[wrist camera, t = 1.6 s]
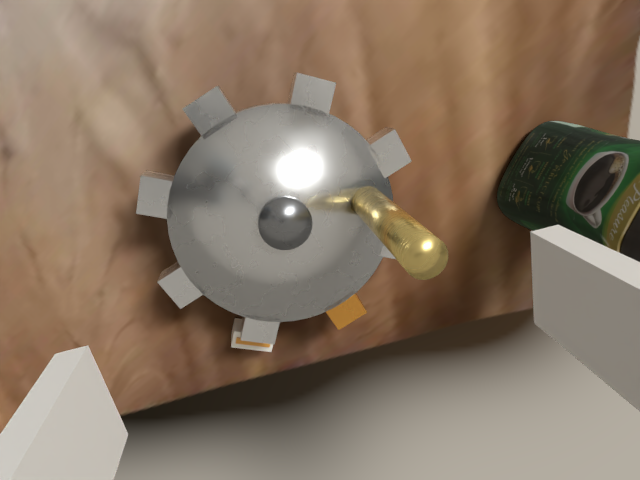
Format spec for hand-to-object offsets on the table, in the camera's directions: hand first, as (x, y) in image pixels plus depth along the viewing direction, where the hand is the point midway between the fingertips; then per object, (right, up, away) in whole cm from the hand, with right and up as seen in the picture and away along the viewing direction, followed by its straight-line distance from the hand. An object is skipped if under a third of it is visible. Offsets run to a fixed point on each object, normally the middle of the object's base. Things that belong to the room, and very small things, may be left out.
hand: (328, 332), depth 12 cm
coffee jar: (+20, +8, +31) cm, 38 cm away
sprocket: (-3, +4, +25) cm, 25 cm away
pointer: (-6, -6, +31) cm, 32 cm away
